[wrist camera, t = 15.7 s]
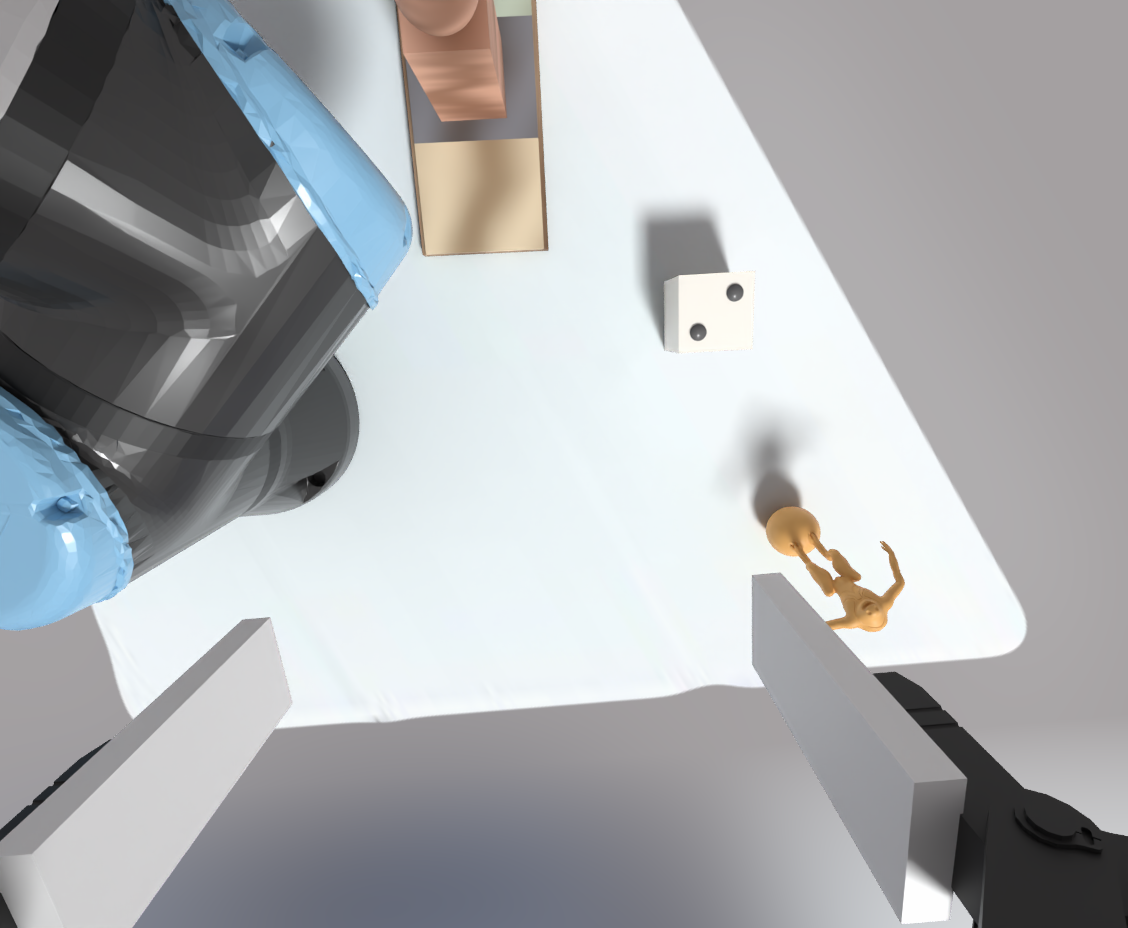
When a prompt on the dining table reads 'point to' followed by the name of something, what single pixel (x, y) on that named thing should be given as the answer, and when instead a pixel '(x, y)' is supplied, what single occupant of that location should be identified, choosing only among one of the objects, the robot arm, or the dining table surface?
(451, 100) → the pawn
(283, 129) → the robot arm
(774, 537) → the figurine
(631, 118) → the dining table surface
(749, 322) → the die
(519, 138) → the board
